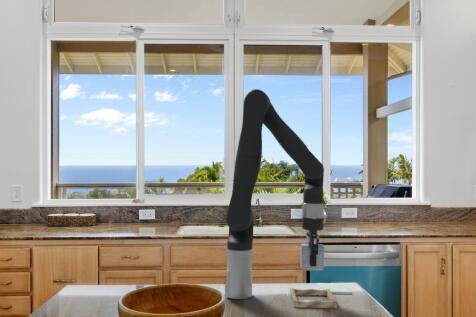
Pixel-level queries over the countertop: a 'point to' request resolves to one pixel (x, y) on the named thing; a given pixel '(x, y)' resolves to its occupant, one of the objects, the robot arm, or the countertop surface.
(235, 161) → the robot arm
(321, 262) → the medicine box
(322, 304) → the pocket tray
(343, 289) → the sage mat
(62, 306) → the countertop surface
